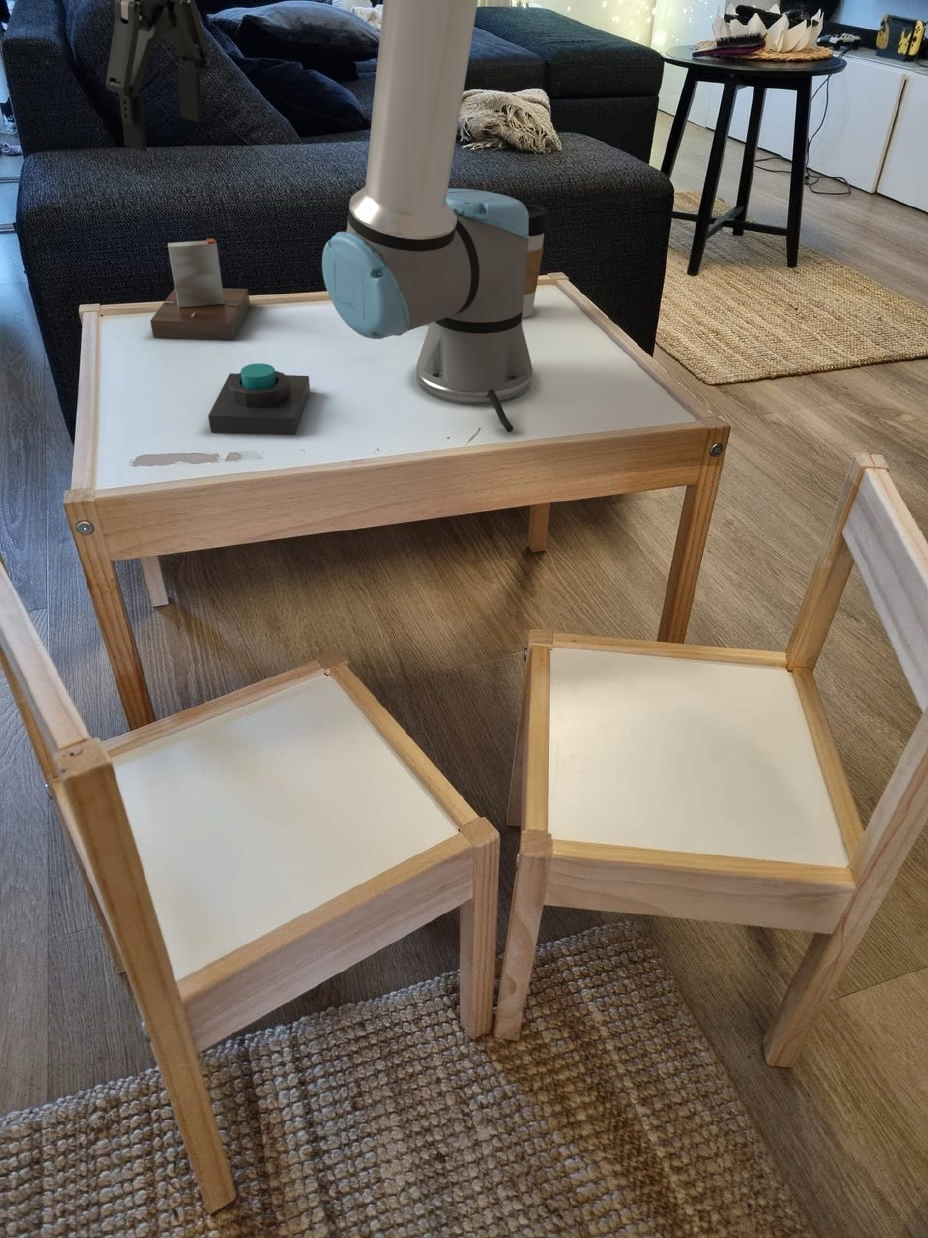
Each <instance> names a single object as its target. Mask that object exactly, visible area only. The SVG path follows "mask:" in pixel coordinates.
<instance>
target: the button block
mask: <svg viewBox="0 0 928 1238" xmlns="http://www.w3.org/2000/svg"><path fill="white" fill-rule="evenodd" d="M275 377H276V385H274V386H272V387H269V388H264V389H249V388H246V387H243V385H242V378H241V371H240V372H238V373H235V372H233V373H232V372H231V373H229V374H228V376H227V379H226V380H225V382H224V384H223V386H222V388H221V389H220V392H219V394H218V396H217V398H216V399H215V402H214V404H213V405H212V407H211V410H210V411H209V413H208V424H209V429H210V433H213V434H214V433H215V434H217V433H218V434H245V435H246V434H247V435H250V434H251V435H275V436H276V435H279V436H280V435H281V436H296V435H297V431H298V429H299V426H300V423H301V419H302V417H303V414H304V411H305V408H306V405H307V402H308V399H309V396H310V393H311V386H310V385H311V384H310V376H309V375H292V374H291V375H289V374H286V373H284V372H280V371H278V370H275Z"/></svg>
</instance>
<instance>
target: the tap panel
mask: <svg viewBox="0 0 928 1238" xmlns="http://www.w3.org/2000/svg"><path fill="white" fill-rule="evenodd" d="M222 288H223V287H222ZM223 296H224V304H216V305H205V306H193V307H182V308H179V306H178V303H177V297H176V291H175V288H174V289H172V291H171V293H170V294H169V295H168V297H167V298H166V299H165V300H164V302H163V303H162V305H160V307H159V308H158V310H157V311H156V312H155V314H154V315H153V316H152V318H151V319H150V320H149V322H150V327H151V333H152V338H154V339H180V340H181V339H182V340H183V339H184V340H208V341H209V340H214V341H232V339H233V337H234V335H235V334H236V332H237V330H238V328H239V326H240V324H241V323H242V321H243V319H244V318H245V315H246V314H247V312H248V310H249V308H250V306H251V301H250V293H249V289H248V288H227V287H226V288H225V287H224V288H223Z"/></svg>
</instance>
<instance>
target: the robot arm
mask: <svg viewBox="0 0 928 1238" xmlns="http://www.w3.org/2000/svg"><path fill="white" fill-rule="evenodd" d="M478 3H479V0H382V8H381V9H382V10H381V18H380V19H381V21H380V31H379V41H378V42H379V43H378V52H377V61H376V62H377V63H376V73H375V83H374V94H373V95H374V96H373V103H372V115H371V116H372V117H371V126H370V136H369V145H368V146H369V147H368V158H367V166H366V177H365V178H366V180H365V186H363V187H362V188H361V189H360V190H358V191H357V192H355V193H354V194H353V195H352V196H351V197H350V199H349V203H348V204H349V206H348V215H347V225H346V226H347V228H346V231H338V232H336V234H335V235H333V236H332V237H331V239H329V240H328V241H327V242H326V243H325V245H324V247H323V250H322V254H321V256H322V257H321V271H322V277H323V281H324V285H325V289H326V292H327V295H328V296H329V297H328V298H329V299H330V301H331V303H332V304H333V306H334V308H335V310H336V312H337V314H338V315H339V316H340V317H341V319H342V320H343V321H344V323H345V324H346V325H347V326H349V328H350V329H351V330H353V331H354V332H355V333H357V334H358V335H360V336H361V337H363V338H367V339H371V340H381V339H385V338H389V337H393V336H394V337H398V336H400V337H401V336H403V335H404V334H405V333H407V332H409V331H411V330H415V329H417V328H420V327H424V326H426V325H429V326H428V329H427V332H426V335H425V337H424V341H423V344H422V347H421V350H420V353H419V356H418V359H417V362H416V383H417V385H418V386H419V388H421V390H423V392H425V393H427V394H428V395H430V396H432V397H434V398H436V399H439V400H442V401H446V402H451V403H454V404H455V403H456V404H462V405H475V406H477V405H479V406H480V405H492V406H493V408H494V411H495V413H496V415H497V417H498V420H499V422H500V423H501V425H502V427H503V428H504V430H505V431H506V432H507V433H512V432H513V431H514V426H513V425H512V424H511V422H510V421H509V419H508V418H507V415H506V413H505V410H504V409H503V406H502V404H501V403H506V402H509V401H512V400H515V399H517V398H519V397H521V396H523V395H525V394H526V393H527V392H529V390H530V389H531V386H532V385H533V374H534V373H533V372H534V371H533V363H532V360H531V356H530V353H529V348H528V344H527V341H526V340H527V339H526V336H525V333H524V328H523V318H522V315H523V303H524V290H525V277H526V264H527V251H528V241H529V238H530V237H529V235H528V223H529V215H528V211H527V209H526V207H525V206H524V205H525V204H524V203H523V202H521V201H520V200H519V199H516V198H514V197H512V196H509V195H505V194H502V193H501V194H500V193H496V192H491V191H485V190H479V189H471V188H449V184H450V178H451V172H452V166H453V160H454V155H455V154H454V153H455V147H456V141H457V134H458V128H459V122H460V115H461V109H462V102H463V97H464V90H465V83H466V78H467V71H468V65H469V58H470V52H471V48H472V47H471V46H472V41H473V40H472V39H473V33H474V26H475V21H476V14H477V9H478ZM114 4H115V5H114V7H115V20H114V21H115V23H114V28H113V35H112V42H111V47H110V55H109V61H108V67H107V73H106V80H105V88H106V89H107V90H109V91H111V92H113V93H114V92H115V93H117V94H118V97H119V106H120V107H119V108H120V118H121V120H122V131H123V142H124V143H123V144H124V146H125V147H128V148H130V149H131V148H132V149H134V150H136V151H140V152H145V151H147V138H146V122H145V111H144V110H145V108H144V96H143V95H142V94H139V91H140V88H141V85H142V81H143V78H144V75H145V71H146V68H147V65H148V61H149V59H150V55H151V52H152V49H153V46H154V45H156V44H157V43H158V42H159V38H160V37H162V36H164V34H166V35H167V37H168V38H169V39H170V41H171V43H172V45H173V48H174V49H175V51H176V52H177V54H178V57H179V58H180V60H181V62H182V63H183V64H182V63H181V64H178V66H177V67H178V89H179V90H178V91H179V105H180V106H179V108H180V109H179V110H180V118H182V119H186V120H187V121H188V120H189V121H192V122H195V123H200V122H202V112H201V111H202V110H201V75H200V69H201V70H207V68H208V66H209V65H208V64H209V63H208V59H209V57H210V51H209V47H208V43H207V40H206V36H205V32H204V28H203V26H202V21H201V18H200V15H199V11H198V7H197V4H196V0H115V1H114Z"/></svg>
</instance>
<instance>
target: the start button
mask: <svg viewBox="0 0 928 1238" xmlns="http://www.w3.org/2000/svg"><path fill="white" fill-rule="evenodd" d="M275 371H276V369H275V367H274V366H272V365H271V364H267V363H260V362H259V363H250V364H247V365H244V366H243V367H242V368H241V369H240V372H241V378H242V385H243V387H246V388H249V389H264V388H269V387H272V386H274V385H276V377H275Z"/></svg>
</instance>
